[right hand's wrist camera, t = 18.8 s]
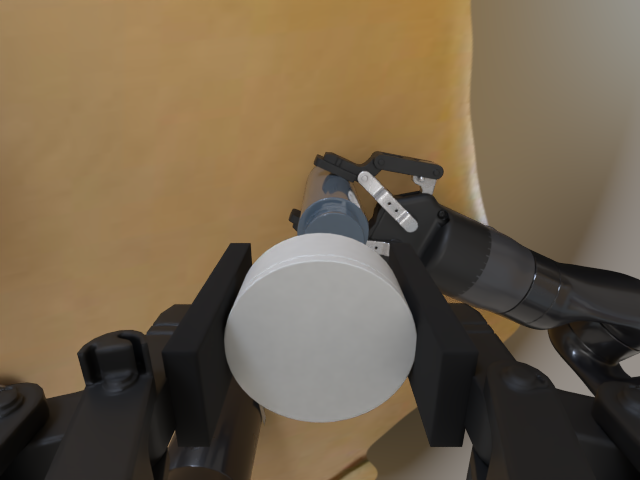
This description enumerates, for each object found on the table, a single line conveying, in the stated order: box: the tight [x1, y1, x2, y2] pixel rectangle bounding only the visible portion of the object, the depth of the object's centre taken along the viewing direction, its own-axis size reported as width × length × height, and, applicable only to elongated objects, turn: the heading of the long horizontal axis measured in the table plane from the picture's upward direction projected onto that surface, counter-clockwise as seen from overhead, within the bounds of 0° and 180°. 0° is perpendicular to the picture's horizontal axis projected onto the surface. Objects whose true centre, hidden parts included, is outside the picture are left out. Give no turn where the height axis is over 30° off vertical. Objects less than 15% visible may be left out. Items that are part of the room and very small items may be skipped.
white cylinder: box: [224, 233, 417, 422], centre depth 11 cm, size 5×5×2 cm
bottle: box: [297, 166, 369, 245], centre depth 31 cm, size 5×5×18 cm
